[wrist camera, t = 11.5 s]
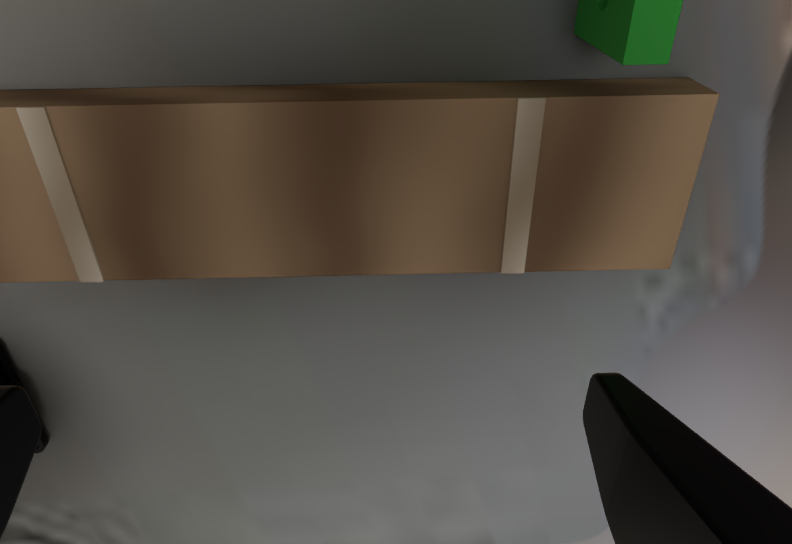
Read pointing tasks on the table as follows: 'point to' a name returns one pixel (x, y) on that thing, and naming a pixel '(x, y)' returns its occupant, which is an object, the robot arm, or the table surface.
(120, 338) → the table surface
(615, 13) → the pipe clamp
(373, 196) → the brown wooden plank
